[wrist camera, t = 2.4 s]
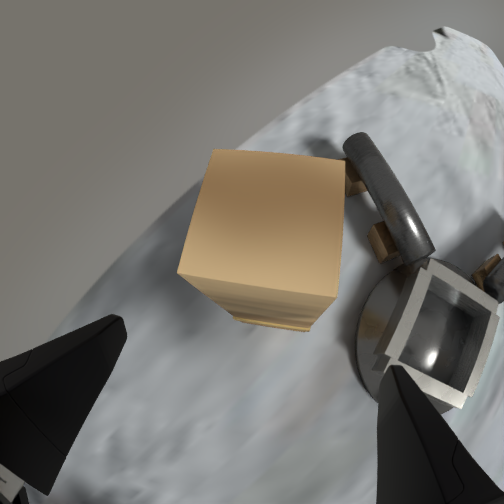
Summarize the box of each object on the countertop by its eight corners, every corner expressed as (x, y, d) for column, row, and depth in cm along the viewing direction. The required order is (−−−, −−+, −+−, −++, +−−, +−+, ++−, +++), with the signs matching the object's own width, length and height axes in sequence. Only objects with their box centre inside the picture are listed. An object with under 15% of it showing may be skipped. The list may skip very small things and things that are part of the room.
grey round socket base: (447, 435, 14) (468, 443, 11) (323, 379, 17) (331, 384, 14) (498, 300, 17) (521, 291, 14) (393, 235, 20) (408, 216, 17)
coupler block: (306, 333, 19) (340, 301, 7) (240, 323, 19) (172, 275, 8) (315, 270, 20) (348, 159, 9) (252, 261, 21) (211, 146, 9)
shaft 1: (419, 264, 19) (445, 244, 15) (386, 279, 19) (409, 260, 15) (364, 162, 23) (375, 129, 19) (333, 171, 23) (340, 136, 19)
